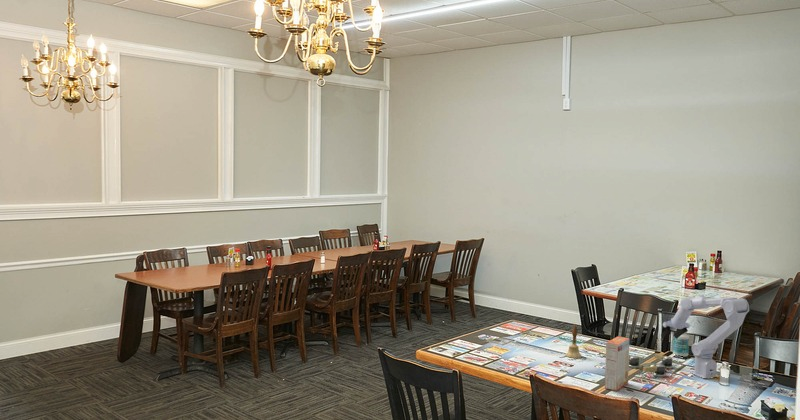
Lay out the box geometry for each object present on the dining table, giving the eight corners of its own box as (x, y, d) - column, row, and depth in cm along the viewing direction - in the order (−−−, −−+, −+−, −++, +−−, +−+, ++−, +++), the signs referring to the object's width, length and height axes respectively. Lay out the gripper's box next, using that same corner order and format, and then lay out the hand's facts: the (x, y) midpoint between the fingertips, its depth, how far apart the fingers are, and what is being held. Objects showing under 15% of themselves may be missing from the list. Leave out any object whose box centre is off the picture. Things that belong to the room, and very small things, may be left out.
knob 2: (674, 365, 312) (674, 358, 312) (666, 366, 311) (666, 358, 311) (659, 359, 323) (660, 351, 322) (651, 359, 321) (652, 352, 321)
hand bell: (580, 354, 334) (581, 323, 332) (583, 358, 325) (584, 327, 324) (564, 353, 334) (565, 323, 333) (566, 358, 326) (567, 327, 325)
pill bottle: (672, 355, 334) (673, 330, 333) (673, 352, 340) (674, 327, 339) (687, 358, 330) (689, 332, 329) (688, 354, 337) (690, 329, 336)
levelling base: (690, 375, 302) (690, 370, 302) (651, 378, 297) (651, 373, 296) (662, 362, 321) (662, 358, 321) (625, 365, 316) (625, 360, 316)
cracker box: (615, 380, 293) (617, 335, 291) (628, 383, 289) (630, 338, 287) (603, 388, 282) (605, 341, 280) (617, 391, 278) (619, 344, 276)
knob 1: (639, 363, 315) (639, 355, 315) (638, 366, 311) (638, 358, 310) (616, 360, 319) (616, 352, 319) (615, 362, 315) (615, 355, 315)
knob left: (660, 370, 304) (660, 363, 303) (666, 374, 299) (667, 366, 299) (640, 372, 301) (641, 364, 301) (647, 375, 296) (647, 367, 296)
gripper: (688, 312, 319) (676, 331, 327) (664, 311, 315) (652, 331, 322) (696, 321, 314) (684, 341, 321) (672, 321, 310) (660, 341, 317)
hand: (668, 337), depth 321 cm, fingers open, 7 cm apart
